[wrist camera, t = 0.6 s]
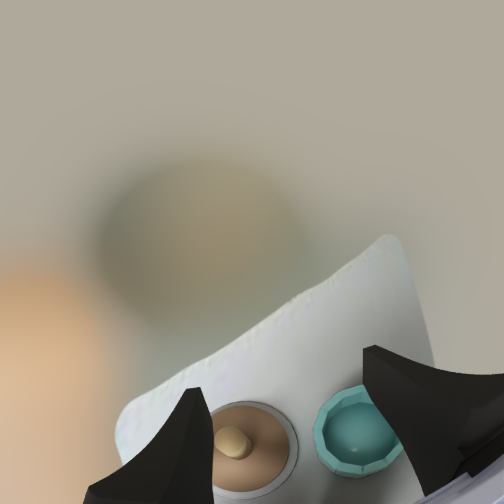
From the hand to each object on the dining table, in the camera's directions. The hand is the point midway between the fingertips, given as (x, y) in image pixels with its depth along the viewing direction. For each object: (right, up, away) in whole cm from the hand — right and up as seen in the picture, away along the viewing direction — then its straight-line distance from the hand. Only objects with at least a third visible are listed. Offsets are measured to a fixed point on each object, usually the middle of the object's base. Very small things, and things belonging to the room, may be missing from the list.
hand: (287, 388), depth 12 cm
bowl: (+9, -13, +12) cm, 20 cm away
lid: (-3, -14, +14) cm, 20 cm away
